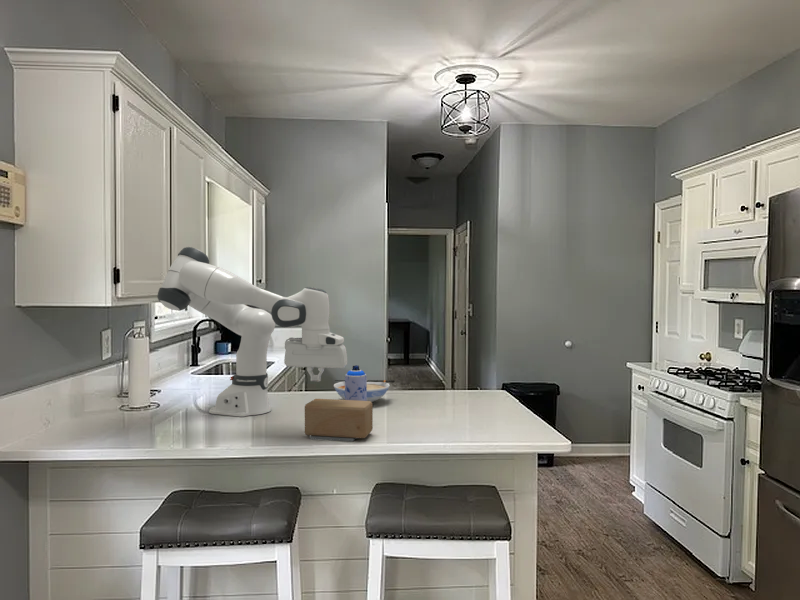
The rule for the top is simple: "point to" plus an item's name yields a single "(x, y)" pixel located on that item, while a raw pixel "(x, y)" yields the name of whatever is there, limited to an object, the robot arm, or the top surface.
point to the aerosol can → (356, 385)
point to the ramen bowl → (373, 388)
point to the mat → (332, 438)
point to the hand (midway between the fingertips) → (315, 381)
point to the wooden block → (338, 418)
